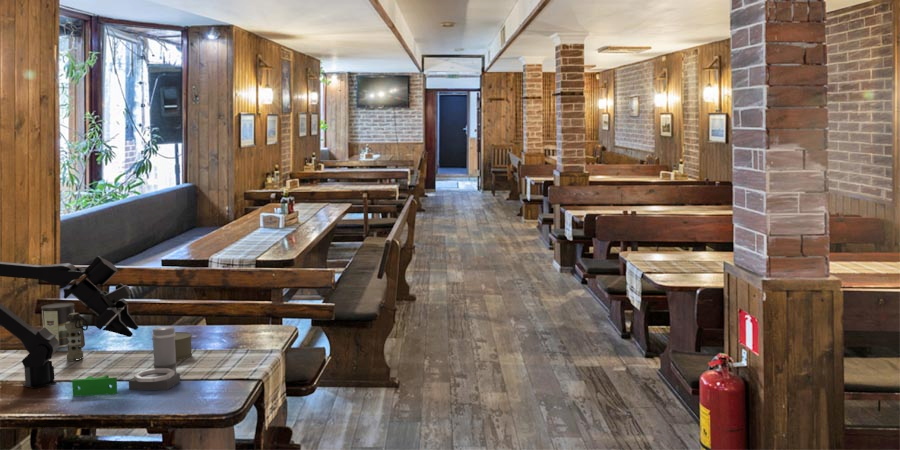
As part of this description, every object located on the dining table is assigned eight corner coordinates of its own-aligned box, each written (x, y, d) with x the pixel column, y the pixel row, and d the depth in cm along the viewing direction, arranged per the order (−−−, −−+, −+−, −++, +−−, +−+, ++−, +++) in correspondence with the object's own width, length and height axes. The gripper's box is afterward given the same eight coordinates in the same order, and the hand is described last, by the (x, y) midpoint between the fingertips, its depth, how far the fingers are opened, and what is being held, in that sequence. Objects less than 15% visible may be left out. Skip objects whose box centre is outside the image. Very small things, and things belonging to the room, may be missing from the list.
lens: (162, 379, 211) (160, 332, 210) (149, 376, 214) (147, 329, 213) (181, 374, 216) (179, 327, 215) (168, 371, 220) (166, 325, 219)
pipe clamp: (120, 390, 201) (119, 374, 201) (116, 395, 198) (115, 378, 197) (78, 392, 200) (77, 376, 200) (72, 396, 196) (72, 380, 196)
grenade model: (82, 361, 232) (80, 315, 230) (63, 360, 233) (61, 314, 232) (95, 356, 238) (93, 311, 237) (77, 355, 239) (75, 310, 238)
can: (199, 353, 241) (199, 333, 240) (176, 362, 229) (176, 341, 229) (169, 351, 244) (168, 331, 244) (144, 360, 233) (144, 339, 232)
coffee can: (78, 340, 262) (76, 301, 261) (74, 346, 252) (72, 306, 251) (45, 342, 258) (43, 303, 257) (41, 349, 248) (38, 309, 247)
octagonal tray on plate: (127, 390, 200) (126, 378, 200) (144, 380, 210) (144, 368, 210) (165, 390, 200) (165, 378, 199) (181, 380, 210) (181, 368, 209)
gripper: (105, 281, 201) (149, 318, 204) (118, 272, 219) (159, 306, 222) (75, 310, 199) (120, 347, 203) (91, 299, 218) (132, 332, 221)
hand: (134, 332), depth 212 cm, fingers open, 9 cm apart
